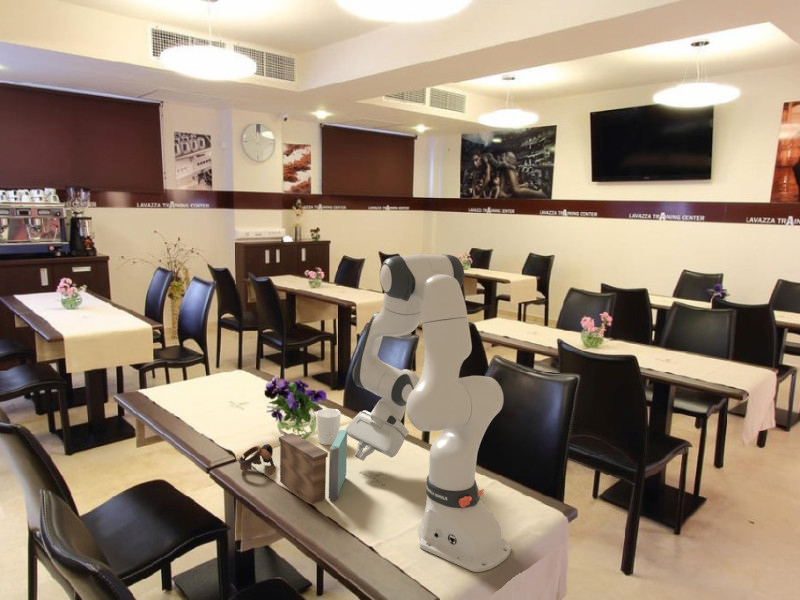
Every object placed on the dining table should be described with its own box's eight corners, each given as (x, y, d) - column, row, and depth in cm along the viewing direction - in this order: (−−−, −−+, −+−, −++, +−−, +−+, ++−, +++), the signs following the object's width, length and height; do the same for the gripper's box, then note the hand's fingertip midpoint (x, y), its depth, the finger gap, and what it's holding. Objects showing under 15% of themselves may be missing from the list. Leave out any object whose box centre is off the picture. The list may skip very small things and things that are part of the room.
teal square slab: (336, 500, 148) (337, 450, 145) (327, 499, 148) (328, 449, 146) (346, 475, 161) (347, 430, 159) (338, 475, 161) (339, 429, 159)
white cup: (335, 447, 181) (336, 418, 179) (312, 444, 183) (313, 415, 181) (342, 437, 189) (343, 409, 187) (320, 435, 190) (321, 407, 189)
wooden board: (326, 498, 149) (327, 452, 147) (312, 504, 146) (313, 457, 144) (292, 476, 161) (292, 433, 159) (278, 480, 157) (278, 437, 155)
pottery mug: (270, 481, 158) (254, 459, 156) (244, 489, 161) (229, 467, 159) (286, 454, 169) (272, 433, 166) (262, 462, 172) (248, 441, 170)
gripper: (356, 403, 172) (331, 441, 167) (402, 423, 158) (376, 465, 153) (367, 414, 176) (342, 451, 171) (413, 434, 162) (387, 475, 157)
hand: (358, 458), depth 162 cm, fingers closed
